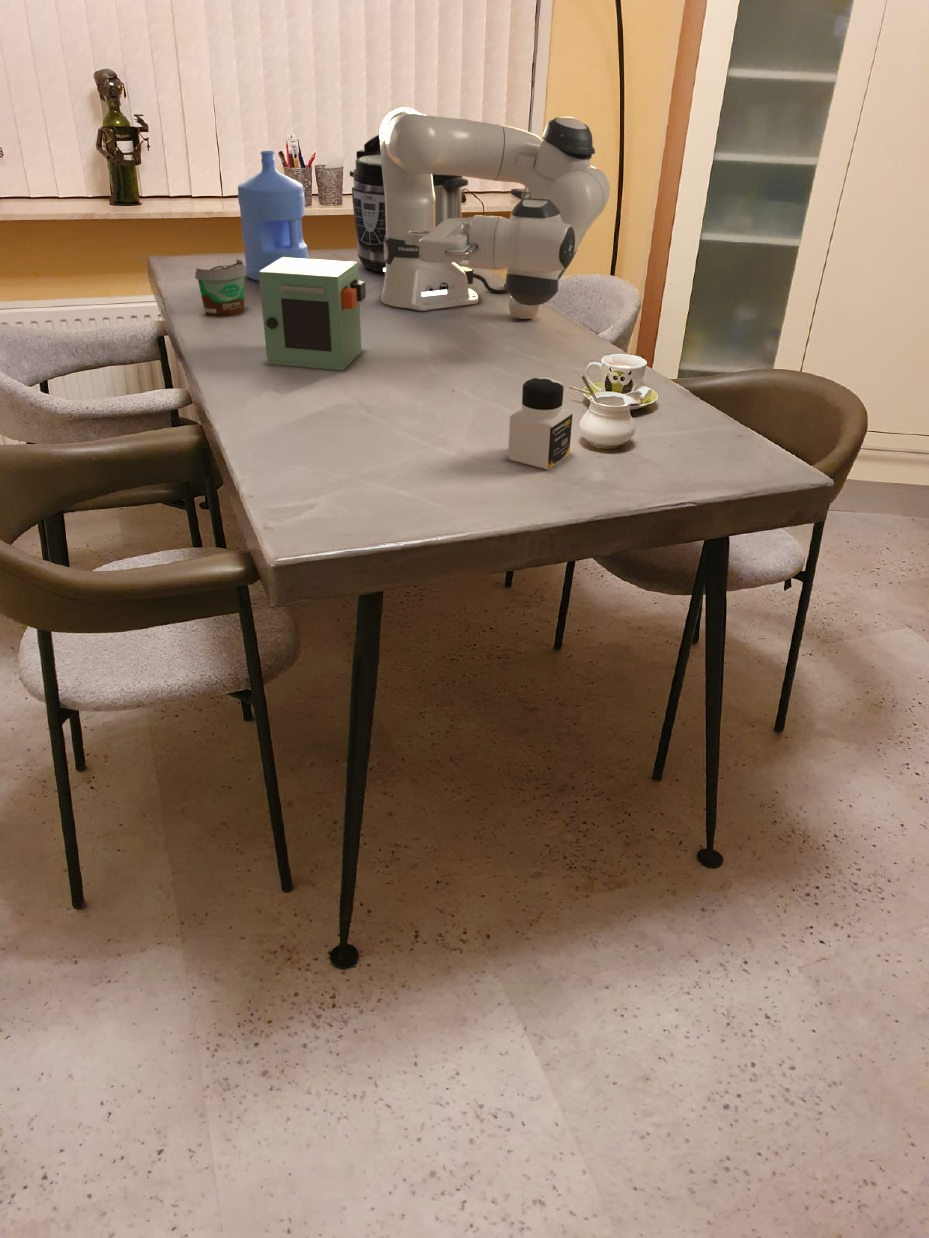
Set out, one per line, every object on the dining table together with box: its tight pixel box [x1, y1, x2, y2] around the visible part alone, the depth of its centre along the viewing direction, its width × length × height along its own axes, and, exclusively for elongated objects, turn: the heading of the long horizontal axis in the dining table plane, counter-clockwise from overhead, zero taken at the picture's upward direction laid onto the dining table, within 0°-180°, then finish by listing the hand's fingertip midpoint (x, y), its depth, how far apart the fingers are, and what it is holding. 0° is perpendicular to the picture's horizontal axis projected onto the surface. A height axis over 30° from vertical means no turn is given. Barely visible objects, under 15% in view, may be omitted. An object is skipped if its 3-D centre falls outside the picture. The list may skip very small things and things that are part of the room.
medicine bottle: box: [507, 376, 574, 471], centre depth 144 cm, size 7×7×12 cm
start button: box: [341, 288, 357, 309], centre depth 176 cm, size 3×3×3 cm
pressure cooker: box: [349, 133, 469, 273], centre depth 242 cm, size 30×28×32 cm
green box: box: [258, 257, 362, 371], centre depth 181 cm, size 15×13×17 cm
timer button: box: [350, 280, 367, 302], centre depth 180 cm, size 3×3×3 cm
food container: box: [194, 258, 247, 318], centre depth 208 cm, size 12×6×10 cm, turn 143°
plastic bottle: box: [508, 295, 540, 320], centre depth 206 cm, size 6×7×20 cm
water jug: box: [237, 150, 309, 282], centre depth 232 cm, size 16×16×28 cm
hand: (406, 237), depth 173 cm, fingers closed
